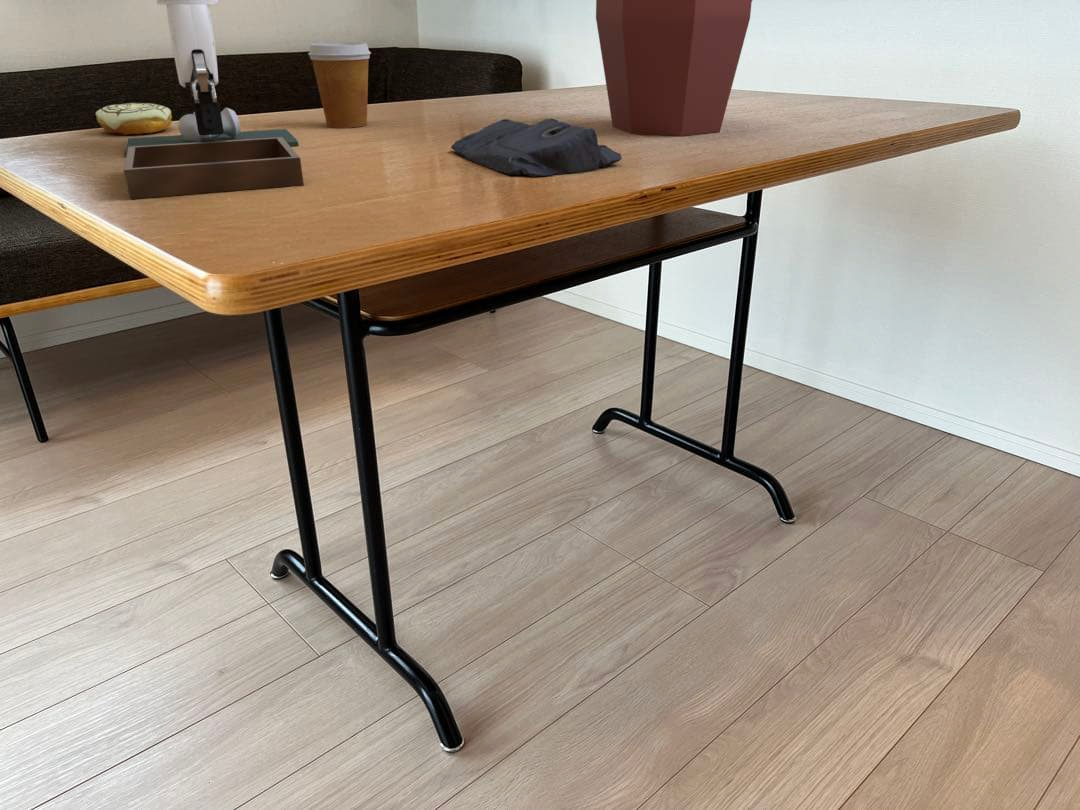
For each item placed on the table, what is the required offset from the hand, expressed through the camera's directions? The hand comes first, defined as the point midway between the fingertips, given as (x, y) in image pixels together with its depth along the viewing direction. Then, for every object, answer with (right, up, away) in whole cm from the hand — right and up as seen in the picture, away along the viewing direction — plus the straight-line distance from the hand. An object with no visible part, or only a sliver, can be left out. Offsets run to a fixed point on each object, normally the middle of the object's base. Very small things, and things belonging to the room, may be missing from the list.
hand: (209, 129), depth 115 cm
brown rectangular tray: (+9, -12, -20) cm, 25 cm away
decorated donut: (-16, +4, +13) cm, 22 cm away
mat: (0, -1, +2) cm, 2 cm away
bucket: (+66, +5, +14) cm, 67 cm away
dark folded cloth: (+45, -7, -10) cm, 47 cm away
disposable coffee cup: (+15, +7, +18) cm, 24 cm away
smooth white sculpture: (0, -1, +1) cm, 2 cm away
